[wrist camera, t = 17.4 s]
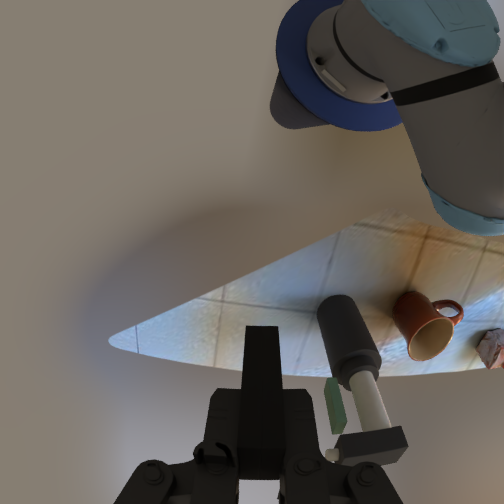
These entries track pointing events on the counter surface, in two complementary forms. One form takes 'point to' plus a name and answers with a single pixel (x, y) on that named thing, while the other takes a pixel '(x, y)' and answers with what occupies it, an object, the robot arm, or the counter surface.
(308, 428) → the robot arm
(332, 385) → the trigger
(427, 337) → the mug
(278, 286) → the counter surface
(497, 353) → the food item
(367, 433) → the spray bottle
